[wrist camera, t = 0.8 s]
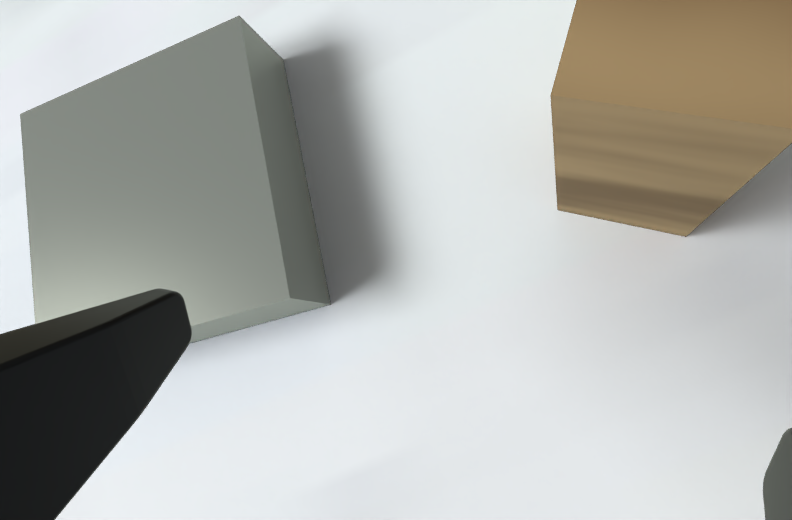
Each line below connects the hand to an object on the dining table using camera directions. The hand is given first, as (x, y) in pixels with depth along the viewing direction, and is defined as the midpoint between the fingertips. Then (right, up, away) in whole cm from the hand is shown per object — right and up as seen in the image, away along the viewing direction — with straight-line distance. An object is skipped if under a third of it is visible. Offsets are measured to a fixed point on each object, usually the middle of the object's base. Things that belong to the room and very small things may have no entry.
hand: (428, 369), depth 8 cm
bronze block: (+8, +5, +12) cm, 15 cm away
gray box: (-10, +4, +18) cm, 21 cm away
